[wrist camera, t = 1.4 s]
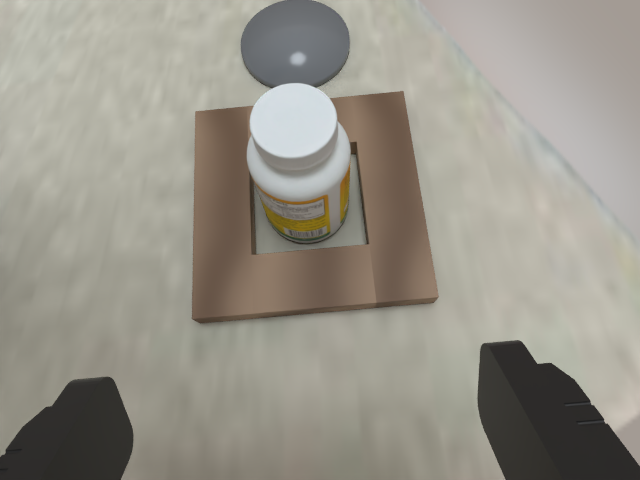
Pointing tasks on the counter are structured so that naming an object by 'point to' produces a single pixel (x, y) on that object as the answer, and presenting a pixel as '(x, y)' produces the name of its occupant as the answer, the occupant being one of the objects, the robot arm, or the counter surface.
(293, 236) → the supplement bottle
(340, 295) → the pocket board
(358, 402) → the counter surface
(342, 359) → the counter surface
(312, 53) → the coaster
